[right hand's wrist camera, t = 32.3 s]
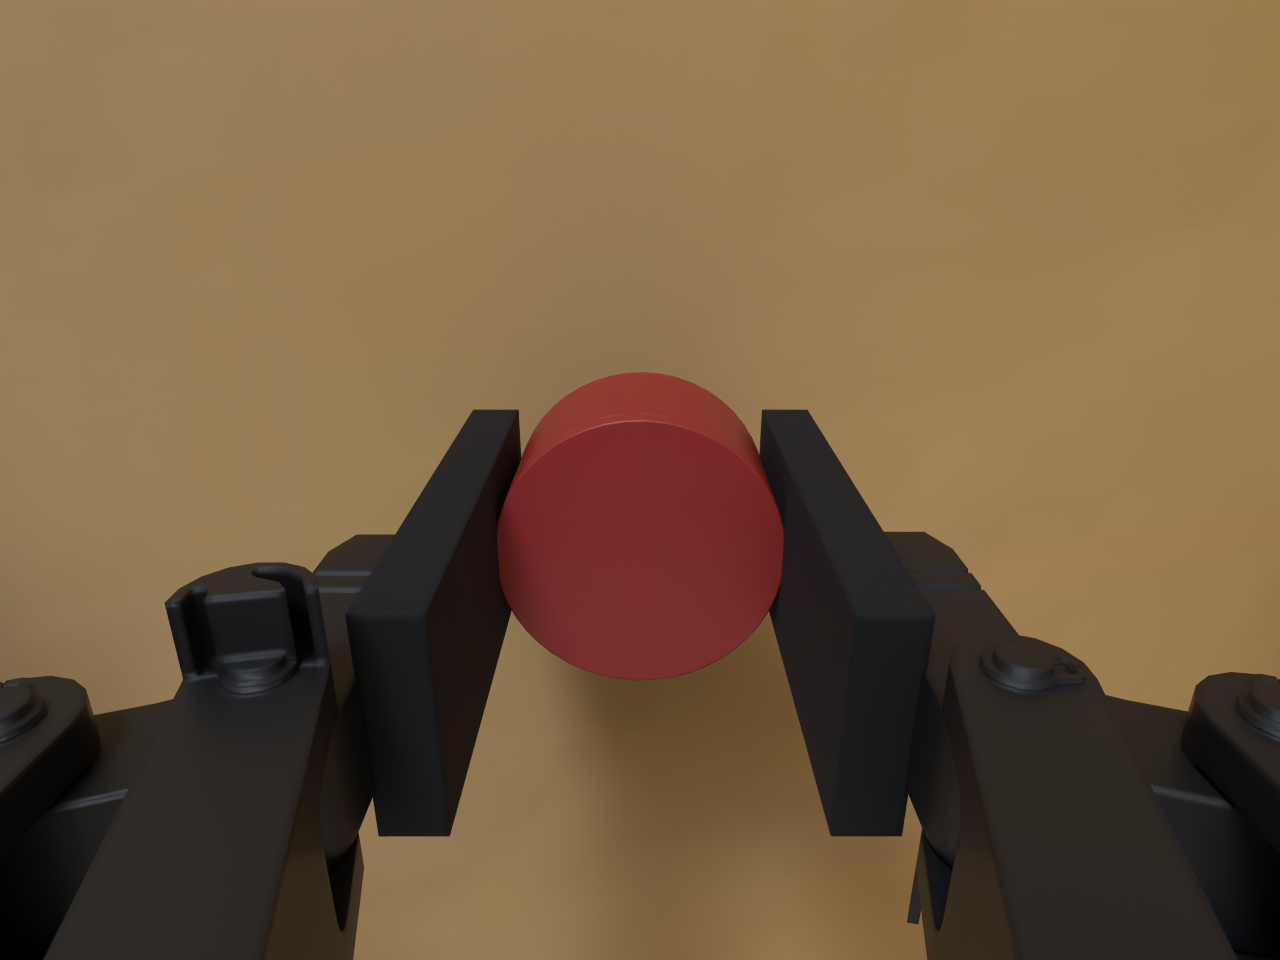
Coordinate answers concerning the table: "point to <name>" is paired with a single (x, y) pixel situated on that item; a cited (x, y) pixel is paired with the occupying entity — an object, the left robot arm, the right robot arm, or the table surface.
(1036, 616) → the table surface
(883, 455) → the table surface
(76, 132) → the table surface
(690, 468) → the cap
